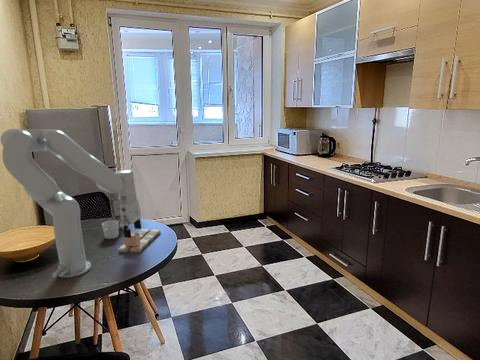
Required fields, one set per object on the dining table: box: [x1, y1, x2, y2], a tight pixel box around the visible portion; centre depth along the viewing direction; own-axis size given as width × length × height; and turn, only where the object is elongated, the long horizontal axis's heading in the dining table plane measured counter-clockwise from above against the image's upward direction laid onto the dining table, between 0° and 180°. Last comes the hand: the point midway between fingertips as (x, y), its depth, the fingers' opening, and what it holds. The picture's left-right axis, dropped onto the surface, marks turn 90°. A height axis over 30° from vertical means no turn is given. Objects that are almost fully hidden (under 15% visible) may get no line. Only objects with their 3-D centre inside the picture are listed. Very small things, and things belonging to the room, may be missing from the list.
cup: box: [101, 220, 120, 240], centre depth 159 cm, size 11×8×8 cm
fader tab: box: [123, 232, 140, 247], centre depth 145 cm, size 4×6×6 cm, turn 81°
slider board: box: [117, 228, 161, 255], centre depth 154 cm, size 24×10×2 cm, turn 171°
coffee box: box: [109, 195, 128, 229], centre depth 176 cm, size 9×6×16 cm
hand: (133, 232), depth 145 cm, fingers open, 9 cm apart
